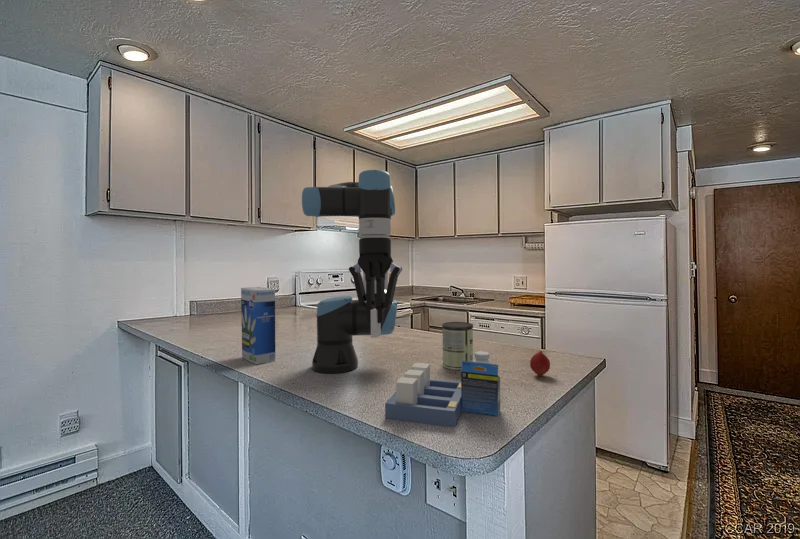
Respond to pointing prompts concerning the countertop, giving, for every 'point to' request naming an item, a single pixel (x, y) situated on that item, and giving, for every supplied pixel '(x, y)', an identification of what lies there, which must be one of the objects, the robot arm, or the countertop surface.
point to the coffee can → (457, 344)
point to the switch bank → (430, 405)
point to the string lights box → (258, 324)
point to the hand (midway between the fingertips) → (375, 336)
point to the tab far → (426, 371)
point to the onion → (540, 363)
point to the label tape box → (480, 388)
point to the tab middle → (420, 379)
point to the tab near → (406, 391)
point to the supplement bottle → (481, 359)
